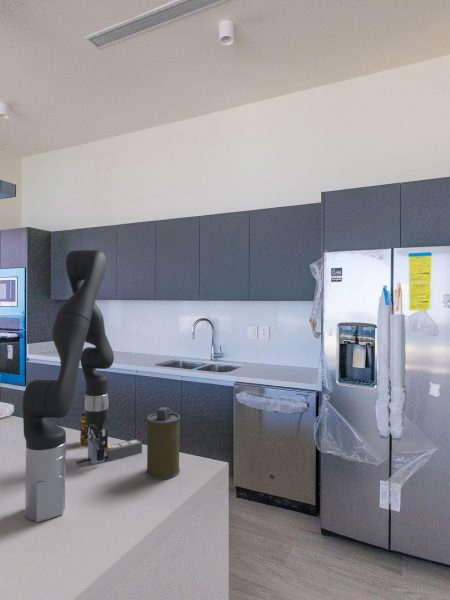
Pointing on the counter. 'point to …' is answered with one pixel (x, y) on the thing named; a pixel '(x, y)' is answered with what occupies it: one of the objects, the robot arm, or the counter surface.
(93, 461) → the block
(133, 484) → the counter surface
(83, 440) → the condiment
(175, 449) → the canister
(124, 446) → the strip
